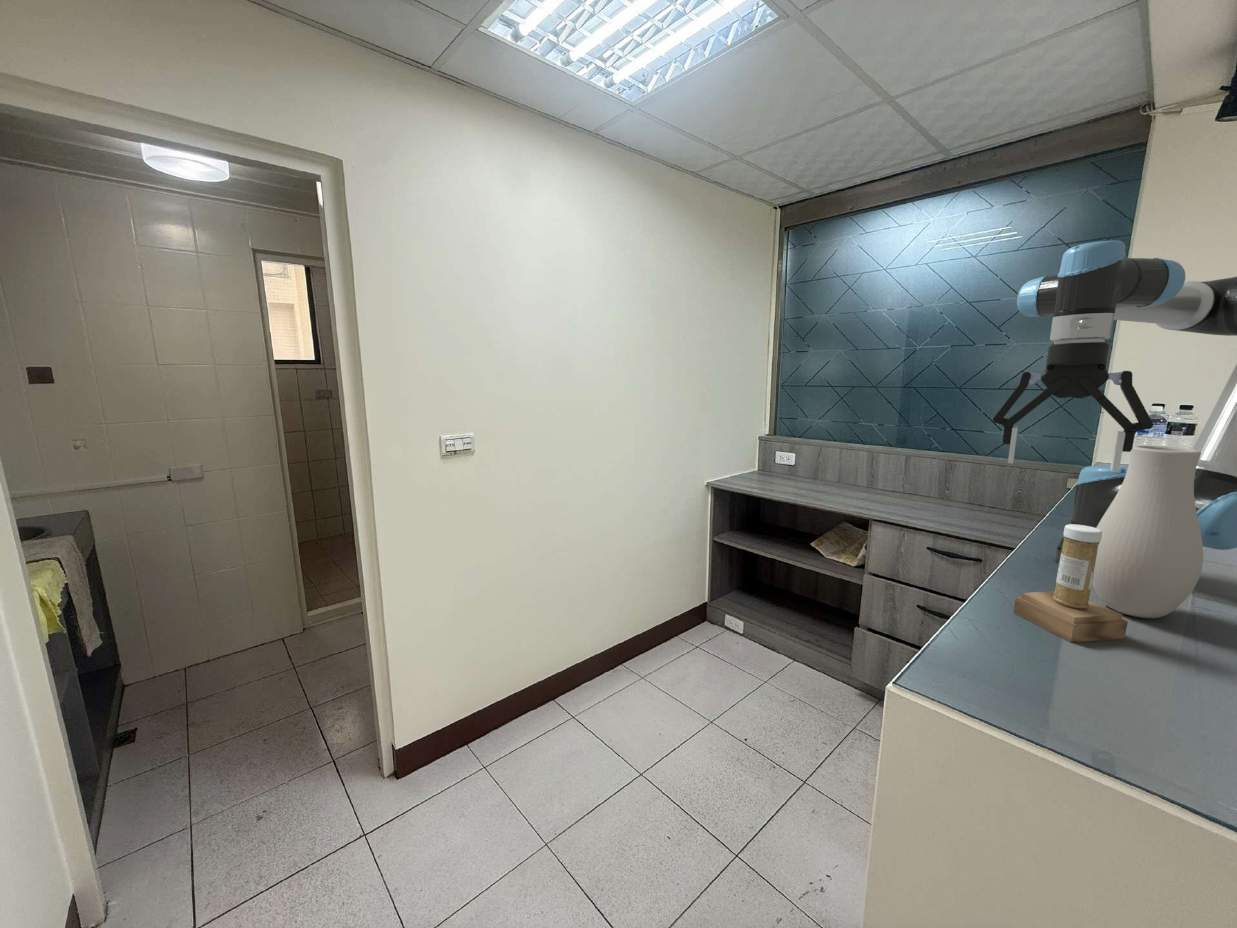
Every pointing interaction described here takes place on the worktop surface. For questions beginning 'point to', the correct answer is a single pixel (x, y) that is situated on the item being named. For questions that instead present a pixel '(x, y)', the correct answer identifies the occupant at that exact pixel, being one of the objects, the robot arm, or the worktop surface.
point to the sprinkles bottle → (1077, 565)
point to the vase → (1151, 535)
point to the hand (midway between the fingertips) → (1059, 466)
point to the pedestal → (1071, 618)
